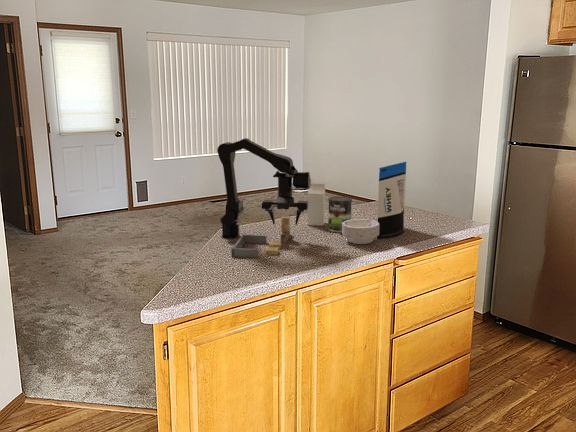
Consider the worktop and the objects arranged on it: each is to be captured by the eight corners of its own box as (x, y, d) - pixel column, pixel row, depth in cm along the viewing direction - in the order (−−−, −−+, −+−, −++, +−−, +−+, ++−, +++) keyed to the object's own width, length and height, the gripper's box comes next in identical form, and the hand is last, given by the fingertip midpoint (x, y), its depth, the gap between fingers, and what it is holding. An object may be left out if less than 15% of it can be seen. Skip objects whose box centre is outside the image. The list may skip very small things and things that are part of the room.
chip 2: (265, 255, 201) (265, 250, 201) (267, 252, 205) (267, 247, 205) (277, 255, 201) (277, 250, 200) (278, 252, 205) (278, 247, 204)
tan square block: (268, 249, 209) (268, 244, 208) (270, 246, 213) (270, 241, 213) (280, 249, 208) (280, 244, 208) (281, 246, 213) (281, 241, 212)
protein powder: (412, 229, 236) (416, 162, 229) (387, 241, 218) (390, 169, 211) (393, 226, 242) (396, 160, 235) (366, 237, 223) (369, 166, 216)
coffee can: (347, 233, 230) (348, 201, 227) (324, 231, 234) (325, 199, 231) (353, 227, 239) (354, 197, 236) (332, 225, 243) (332, 195, 240)
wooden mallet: (279, 244, 215) (279, 221, 213) (284, 234, 229) (284, 213, 227) (286, 244, 215) (286, 221, 213) (291, 235, 228) (291, 213, 226)
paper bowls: (335, 238, 222) (335, 220, 220) (366, 234, 228) (366, 216, 226) (353, 248, 208) (354, 229, 207) (386, 244, 214) (387, 225, 212)
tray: (231, 256, 199) (231, 248, 198) (242, 241, 218) (242, 234, 217) (257, 257, 198) (257, 249, 197) (266, 242, 217) (266, 235, 216)
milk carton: (322, 226, 243) (323, 185, 238) (307, 225, 244) (307, 184, 240) (325, 222, 249) (325, 182, 245) (310, 221, 251) (310, 182, 246)
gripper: (259, 191, 210) (259, 229, 214) (306, 192, 208) (305, 230, 212) (263, 186, 221) (264, 222, 225) (308, 187, 219) (308, 223, 222)
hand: (285, 225), depth 221 cm, fingers open, 9 cm apart
